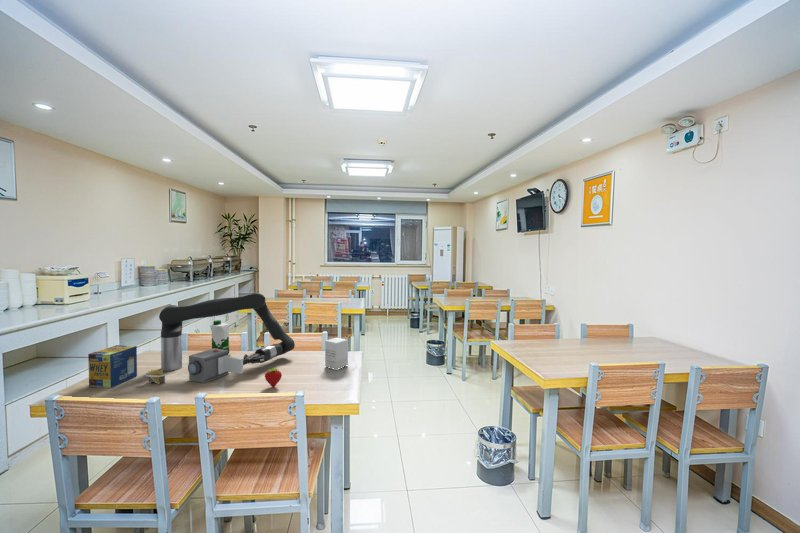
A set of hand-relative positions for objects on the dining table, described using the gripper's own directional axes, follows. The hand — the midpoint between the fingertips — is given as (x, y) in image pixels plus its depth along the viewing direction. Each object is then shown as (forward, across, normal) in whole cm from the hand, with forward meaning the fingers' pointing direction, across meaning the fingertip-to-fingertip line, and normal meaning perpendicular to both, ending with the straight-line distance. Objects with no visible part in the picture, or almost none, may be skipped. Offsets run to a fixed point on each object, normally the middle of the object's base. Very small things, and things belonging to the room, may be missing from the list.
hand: (241, 363), depth 171 cm
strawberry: (+4, +23, +7) cm, 25 cm away
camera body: (+7, -14, +7) cm, 17 cm away
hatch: (+2, -3, +5) cm, 6 cm away
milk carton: (-26, -42, +7) cm, 49 cm away
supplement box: (-31, +36, +7) cm, 48 cm away
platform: (+22, -30, +8) cm, 38 cm away
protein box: (+27, -50, +7) cm, 58 cm away
